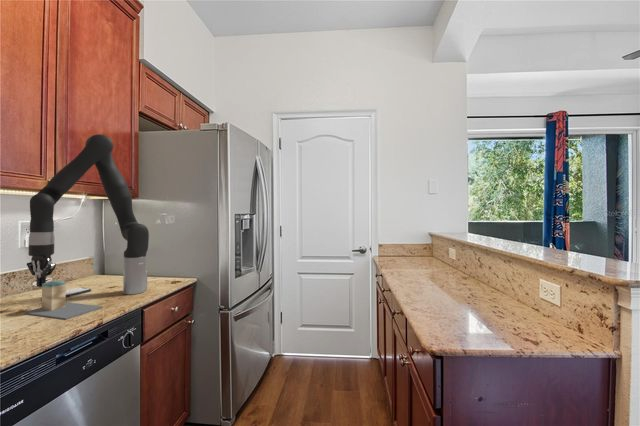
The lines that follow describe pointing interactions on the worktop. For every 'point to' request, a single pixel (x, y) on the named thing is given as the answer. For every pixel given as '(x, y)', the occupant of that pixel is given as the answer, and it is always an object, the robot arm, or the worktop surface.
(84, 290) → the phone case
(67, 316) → the slate mat
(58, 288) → the maple block
